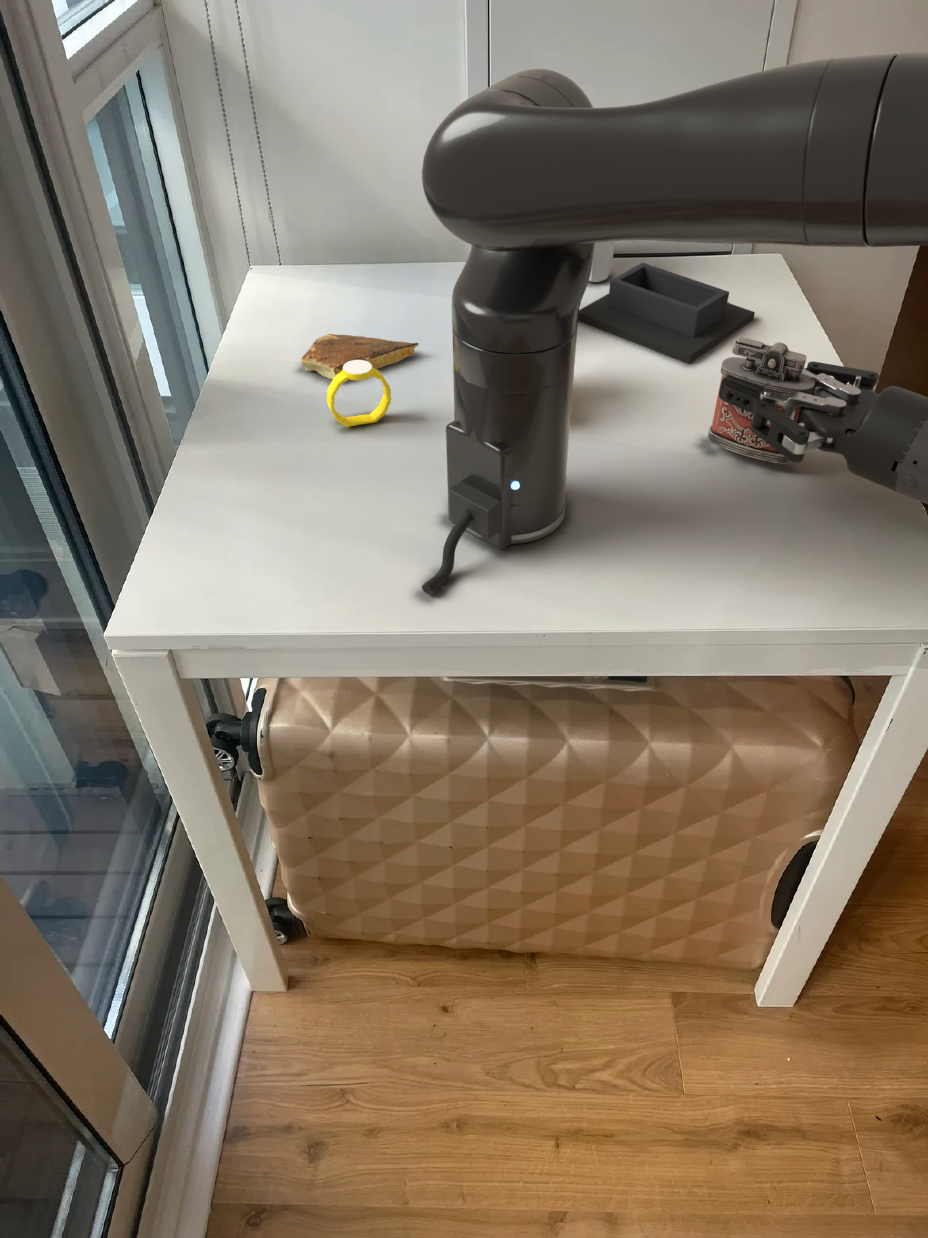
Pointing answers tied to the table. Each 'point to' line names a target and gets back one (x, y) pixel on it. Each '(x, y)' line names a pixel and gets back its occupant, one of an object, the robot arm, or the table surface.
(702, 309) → the dock pad
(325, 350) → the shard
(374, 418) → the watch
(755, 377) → the lighter
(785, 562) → the table surface
